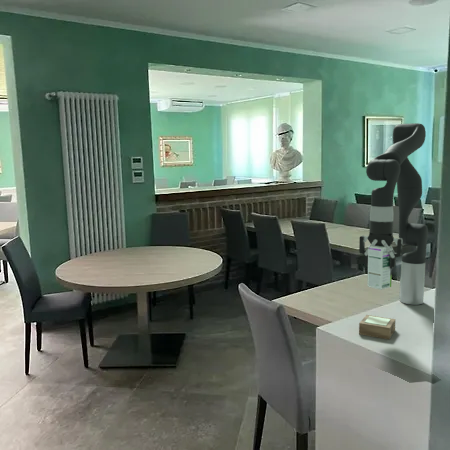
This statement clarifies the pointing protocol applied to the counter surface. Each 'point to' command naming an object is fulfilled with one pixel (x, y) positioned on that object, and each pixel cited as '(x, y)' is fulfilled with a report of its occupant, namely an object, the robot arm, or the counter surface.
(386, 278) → the syrup box
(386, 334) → the plinth
